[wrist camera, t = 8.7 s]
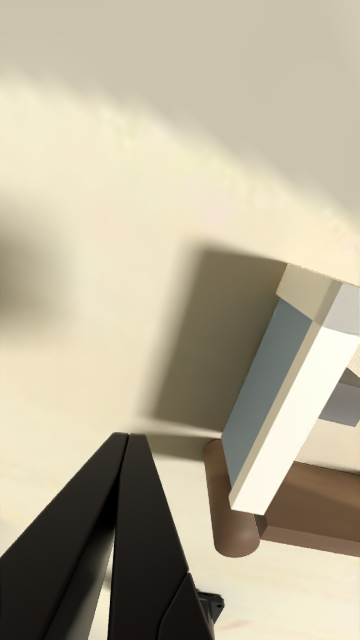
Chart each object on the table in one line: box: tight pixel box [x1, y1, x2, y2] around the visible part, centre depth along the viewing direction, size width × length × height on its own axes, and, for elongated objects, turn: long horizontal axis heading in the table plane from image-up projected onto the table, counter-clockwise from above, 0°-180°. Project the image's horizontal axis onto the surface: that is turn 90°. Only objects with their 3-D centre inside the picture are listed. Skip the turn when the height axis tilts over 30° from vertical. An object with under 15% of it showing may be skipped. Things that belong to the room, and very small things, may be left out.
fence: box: [203, 367, 360, 558], centre depth 16 cm, size 11×15×6 cm
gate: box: [221, 263, 360, 515], centre depth 15 cm, size 2×12×5 cm, turn 164°
